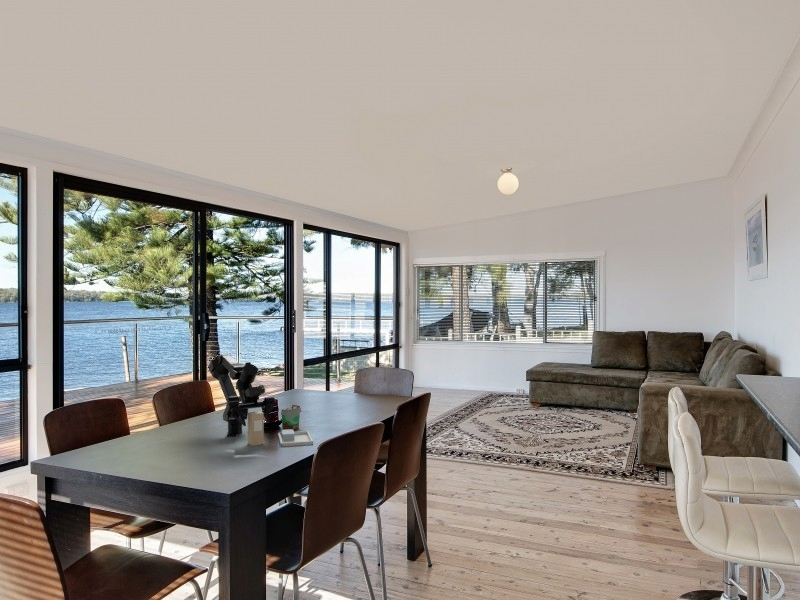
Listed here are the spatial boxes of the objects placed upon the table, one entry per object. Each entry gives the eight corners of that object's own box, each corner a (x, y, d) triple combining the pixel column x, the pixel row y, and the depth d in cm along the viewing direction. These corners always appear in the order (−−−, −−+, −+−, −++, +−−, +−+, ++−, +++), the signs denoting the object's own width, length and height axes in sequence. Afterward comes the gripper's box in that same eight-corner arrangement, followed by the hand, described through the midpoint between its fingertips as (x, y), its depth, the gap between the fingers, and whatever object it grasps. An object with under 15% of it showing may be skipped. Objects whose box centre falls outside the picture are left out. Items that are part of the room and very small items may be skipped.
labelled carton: (247, 443, 218) (247, 412, 218) (259, 442, 221) (259, 411, 221) (252, 446, 215) (252, 414, 215) (263, 444, 217) (263, 413, 217)
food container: (295, 434, 236) (294, 410, 236) (281, 433, 238) (281, 409, 238) (305, 427, 249) (305, 404, 249) (292, 427, 250) (292, 404, 250)
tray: (278, 437, 231) (278, 432, 231) (308, 435, 234) (308, 430, 234) (280, 448, 213) (280, 443, 213) (313, 446, 216) (313, 441, 216)
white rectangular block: (281, 436, 230) (281, 430, 230) (292, 435, 231) (292, 429, 231) (282, 440, 222) (282, 434, 222) (294, 440, 223) (294, 433, 223)
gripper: (227, 380, 216) (238, 414, 207) (274, 376, 227) (285, 408, 218) (220, 398, 222) (230, 432, 213) (266, 393, 233) (277, 425, 224)
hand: (256, 424), depth 217 cm, fingers open, 9 cm apart
